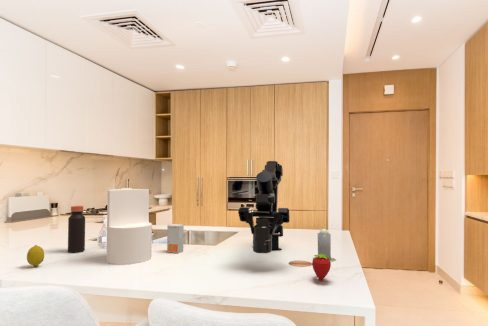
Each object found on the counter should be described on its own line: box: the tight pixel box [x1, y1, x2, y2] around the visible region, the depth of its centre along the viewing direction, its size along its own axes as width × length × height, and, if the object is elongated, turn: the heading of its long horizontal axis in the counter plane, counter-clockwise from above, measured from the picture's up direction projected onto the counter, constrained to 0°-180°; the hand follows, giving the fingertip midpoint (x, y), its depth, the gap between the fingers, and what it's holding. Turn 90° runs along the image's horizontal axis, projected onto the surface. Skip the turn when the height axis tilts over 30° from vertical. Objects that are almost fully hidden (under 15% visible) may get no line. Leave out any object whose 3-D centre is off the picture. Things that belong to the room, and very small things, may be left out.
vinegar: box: [67, 205, 86, 254], centre depth 150 cm, size 7×7×20 cm
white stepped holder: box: [106, 188, 153, 266], centre depth 137 cm, size 17×17×28 cm
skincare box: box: [166, 223, 185, 254], centre depth 149 cm, size 6×4×12 cm
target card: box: [288, 256, 337, 268], centre depth 130 cm, size 12×22×1 cm, turn 107°
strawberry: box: [311, 250, 332, 282], centre depth 109 cm, size 6×8×10 cm
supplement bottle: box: [252, 217, 272, 254], centre depth 121 cm, size 7×7×12 cm
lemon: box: [26, 244, 45, 268], centre depth 125 cm, size 6×6×8 cm
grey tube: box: [317, 228, 332, 260], centre depth 134 cm, size 5×5×12 cm
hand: (261, 233), depth 120 cm, fingers closed on supplement bottle, 7 cm apart
